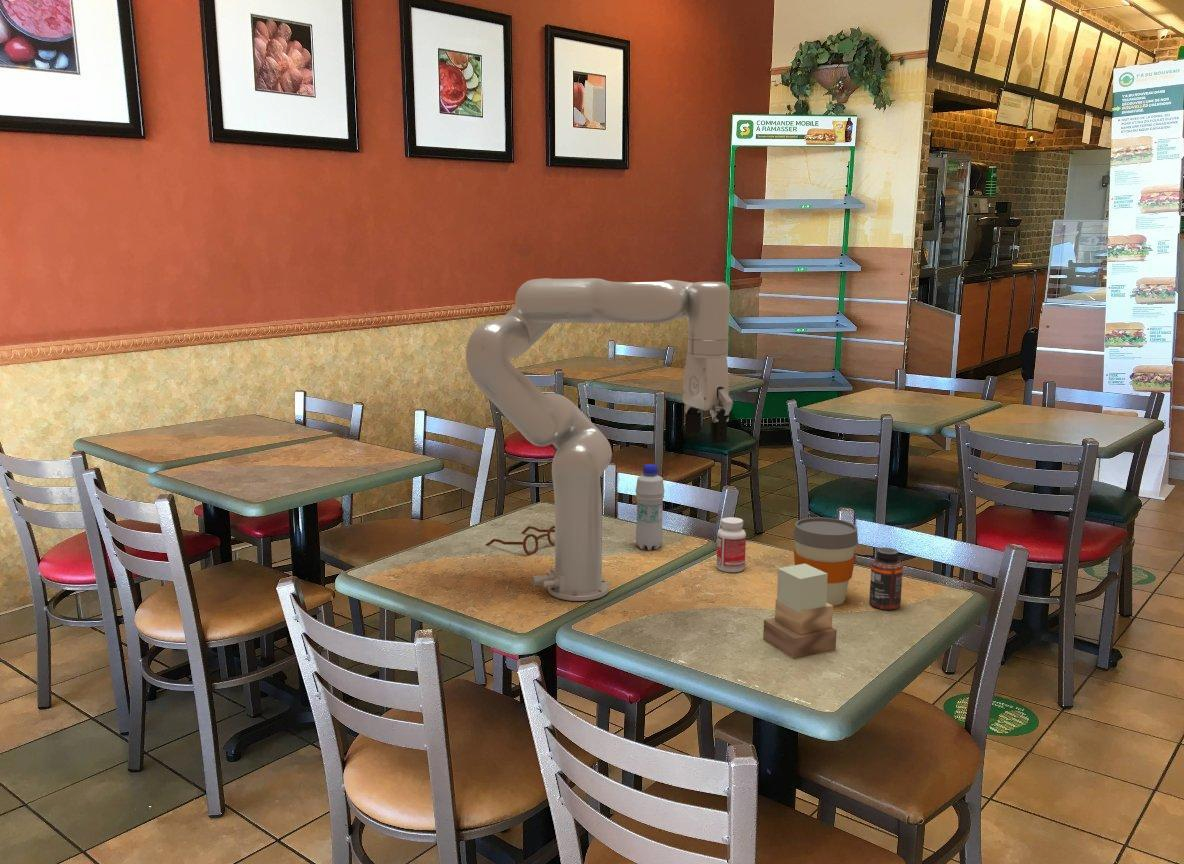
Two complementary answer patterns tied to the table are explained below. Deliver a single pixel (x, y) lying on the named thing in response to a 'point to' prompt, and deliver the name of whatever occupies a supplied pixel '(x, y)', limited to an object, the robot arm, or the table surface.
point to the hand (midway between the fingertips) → (705, 437)
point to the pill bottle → (731, 545)
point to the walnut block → (798, 639)
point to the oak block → (804, 618)
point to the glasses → (527, 538)
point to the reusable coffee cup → (827, 552)
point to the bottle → (649, 508)
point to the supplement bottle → (886, 579)
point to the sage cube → (802, 587)
